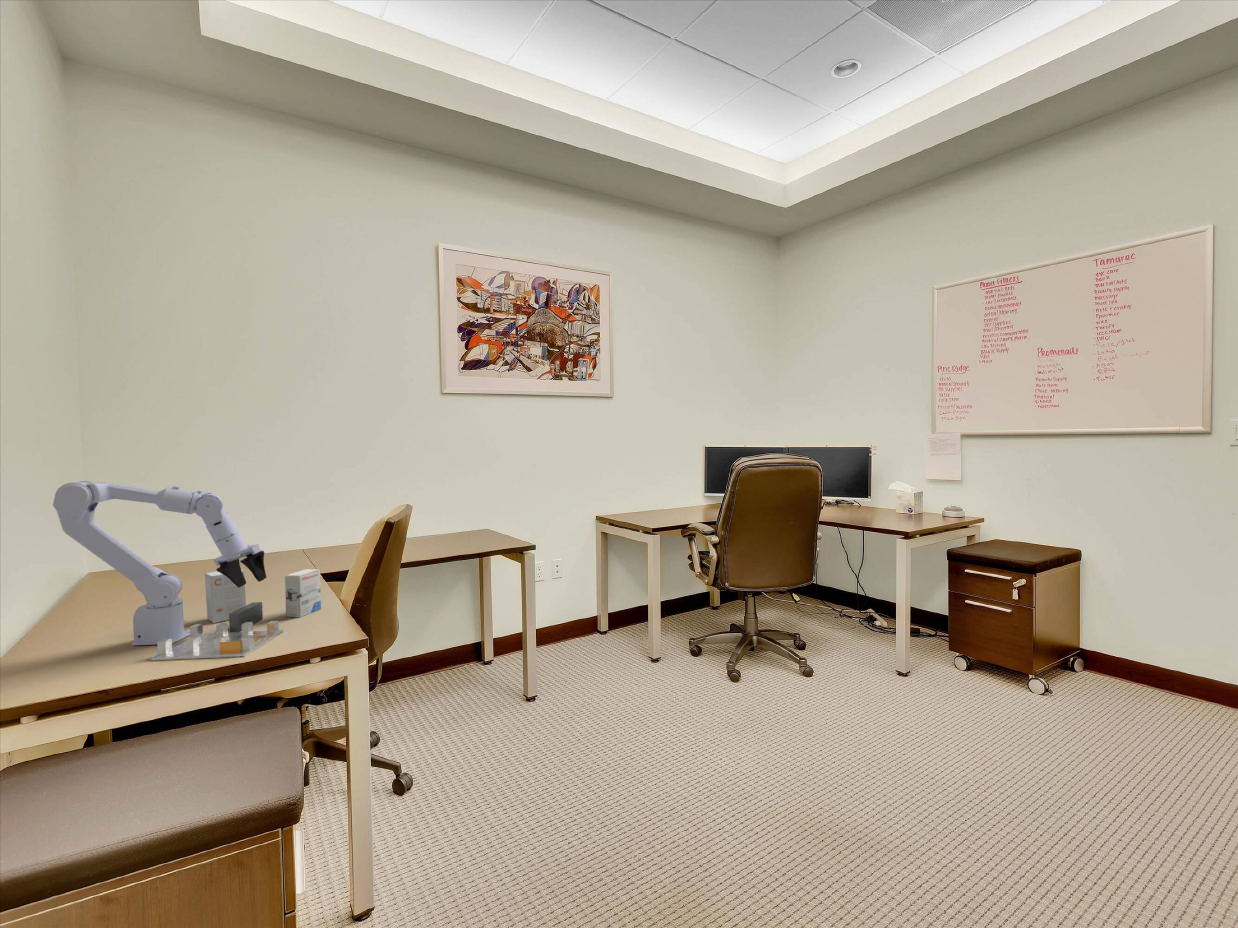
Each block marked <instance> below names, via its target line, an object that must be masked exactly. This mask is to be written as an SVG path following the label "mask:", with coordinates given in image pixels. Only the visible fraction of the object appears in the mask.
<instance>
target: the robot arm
mask: <svg viewBox="0 0 1238 928" xmlns="http://www.w3.org/2000/svg"><path fill="white" fill-rule="evenodd" d="M111 500H121V501H128V502H129V501H131V502H137V503H138V502H139V503H146V504H155V505H156V506H157V507H158V508H159V510H161V511H164V512H165V511H167V512H173V513H179V514H186V515H193V514H196V515H197V516H198V517H199V518H201V519H202V521H203V523H204V524H205V528H206V529H207V531H208V533H209V534H210V537H211V538H212V541H213V542H214V544H215V546H216V547H217V549H218V551H219V552H220V554H221V555H220V556H218V557H216V558H214V559H213V561H214V563H215V566H216V567H217V568H216V572H220V573H222V574H223V575H225V576H226V577H228V578H229V579H230V580H231V581H232V582H233V583H234V584H235V585H236V586H237V587H238V588H240V587H241V586H243V585H245V586H246V585H247V581H246V578H244V575H243V573H242V571H241V570H242V568H241V564H242V565H244V566H245V567H246V568H247V569H248V570H249V571H250V572H251V574H252V575H253V576H254V578H255V580H256V581H257V582H259V583H260V582H262V581H264V580H265V579H267V574H266V573H267V572H266V569H265V562H264V561H265V559H264V558H265V551H264V550H262V549H261V548H260V546H259V544H253V545H252V544H246V543H245V540H244V538H243V537H242V534H241V533H240V531H239V529H238V528H237V525H236V524H235V522H234V521H233V519H232V517H231V515H230V514H229V512H228V510H227V509H226V508H225V507H224V500H223V498H222V497H221V496H219V495H218V494H215V493H213V492H206V493H203V490H200V489H199V490H197V491H193V490H187V489H181V487H180V486H177V485H173V486H172V487H165V488H164V489H161V490H154V489H149V488H142V487H137V486H131V485H127V484H120V483H115V482H103V481H101V482H100V481H95V482H93V481H89V480H80V481H77V482H68V483H64V484H62V485H61V486H60V487H58V488H57V490H56V491H55V493H54V498H53V501H52V502H53V503H52V506H53V508H54V509H55V511H56V513H57V516H58V519H59V522H60V525H61V528H62V531H63V532H64V533H65V534H66V535H67V536H69V537H70V538H71V539H73V540H74V541H76V542H77V543H79V544H80V545H81V546H82V547H84V548H85V549H87V550H88V551H89V552H91V553H92V554H93V555H95V556H96V557H97V558H99V559H101V561H103V562H105V563H106V564H107V565H108V566H110V567H112V568H113V569H114V570H116V571H117V572H119V573H120V574H121V575H123V576H124V577H125V578H127V579H128V580H129V581H131V582H132V583H133V585H134V587H135V588H136V590H138V591H139V592H140V593H141V594H142V596H143V598H144V600H145V601H146V602H147V603H146V604H144V605H140V606H139V607H138V608H137V609H135V612H134V613H133V617H132V628H133V642H132V643H131V646H147V645H149V646H151V645H153V646H154V645H157V642H158V641H160V640H162V639H171V638H172V644H175V643H176V642H179V641H180V640H182V639H185V638H187V637H190V631H185V620H184V618H185V617H184V603H183V598H181V597H180V595H179V594H180V592H181V591H182V588H183V582H182V580H181V578H180V577H178V576H177V575H176V574H173V573H168V572H165V571H164V570H162V569H161V568H159V567H156V566H153V565H151V564H150V563H148V562H147V561H146V560H145V559H143V558H142V557H141V556H139V555H138V554H137V553H135V552H134V551H132V550H131V549H129V548H128V547H127V546H126V545H124V544H123V543H122V542H120V541H119V540H117V538H115V537H114V536H112V535H111V534H109V533H108V532H107V531H105V530H104V529H103V528H102V527H100V526H99V525H98V524H96V523H95V512H96V509H97V507H98V504H99V503H101V502H106V501H111ZM242 558H243V559H242ZM240 559H241V560H240ZM240 563H241V564H240Z"/></svg>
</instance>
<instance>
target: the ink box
mask: <svg viewBox="0 0 1238 928" xmlns="http://www.w3.org/2000/svg"><path fill="white" fill-rule="evenodd" d="M284 578H285V579H284V580H285V581H284V583H285V584H284V586H285V587H284V588H285V590H284V591H285V616H286V617H288V618H289V617H290V618H302V617H304V616H308V615H310V614H312V613H314V612H318V611H319V609H320V610H321V609H322V597H321V569H317V568H313V569H312V568H311V569H310V568H309V569H308V568H306V569H302V570H299V571H296V572H292V573H289V574H286V575H285V576H284ZM309 613H310V614H309Z"/></svg>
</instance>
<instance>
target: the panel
mask: <svg viewBox="0 0 1238 928" xmlns="http://www.w3.org/2000/svg"><path fill="white" fill-rule="evenodd" d="M263 615H264V614H263V602H262V601H256V602H251V603H248V604H246V606H244V607H242V608H240V609H238V610H236V611H234V612H232V613H230V614H229V620H228V628H229V632H242V624H244V623H246V622H253V626H254V625H256V624H258V623H260V621H263V620H262V619H263V618H264V617H263Z"/></svg>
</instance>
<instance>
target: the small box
mask: <svg viewBox="0 0 1238 928" xmlns="http://www.w3.org/2000/svg"><path fill="white" fill-rule="evenodd" d="M241 571H242V573H243V575H244V578H245V575H246V574H245V570H244V569H241ZM245 579H246V578H245ZM204 582H205V583H204V584H205V598H206V599H205V600H206V601H205V602H206V616H207V617H206V618H207V619H206V620H208V619H209V620H208V621H210V622H211V621H212V622H211V623H213V624H215V623H222V622H225V621H229V614H230V613H232V612H234V611H236V610H238V609H240V608H242V607H244V606H246V605H247V596H246V595H247V593H246V584H245V585H243V586H241V587H240V588H238V587H237V586H236V585H235V584H234V583H233V582H232V581H231V580H230V579H229V578H228V577H226V576H225V575H223V574H222V573H220V572H217V571H211V572H205V573H204ZM221 621H222V622H221Z"/></svg>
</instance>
